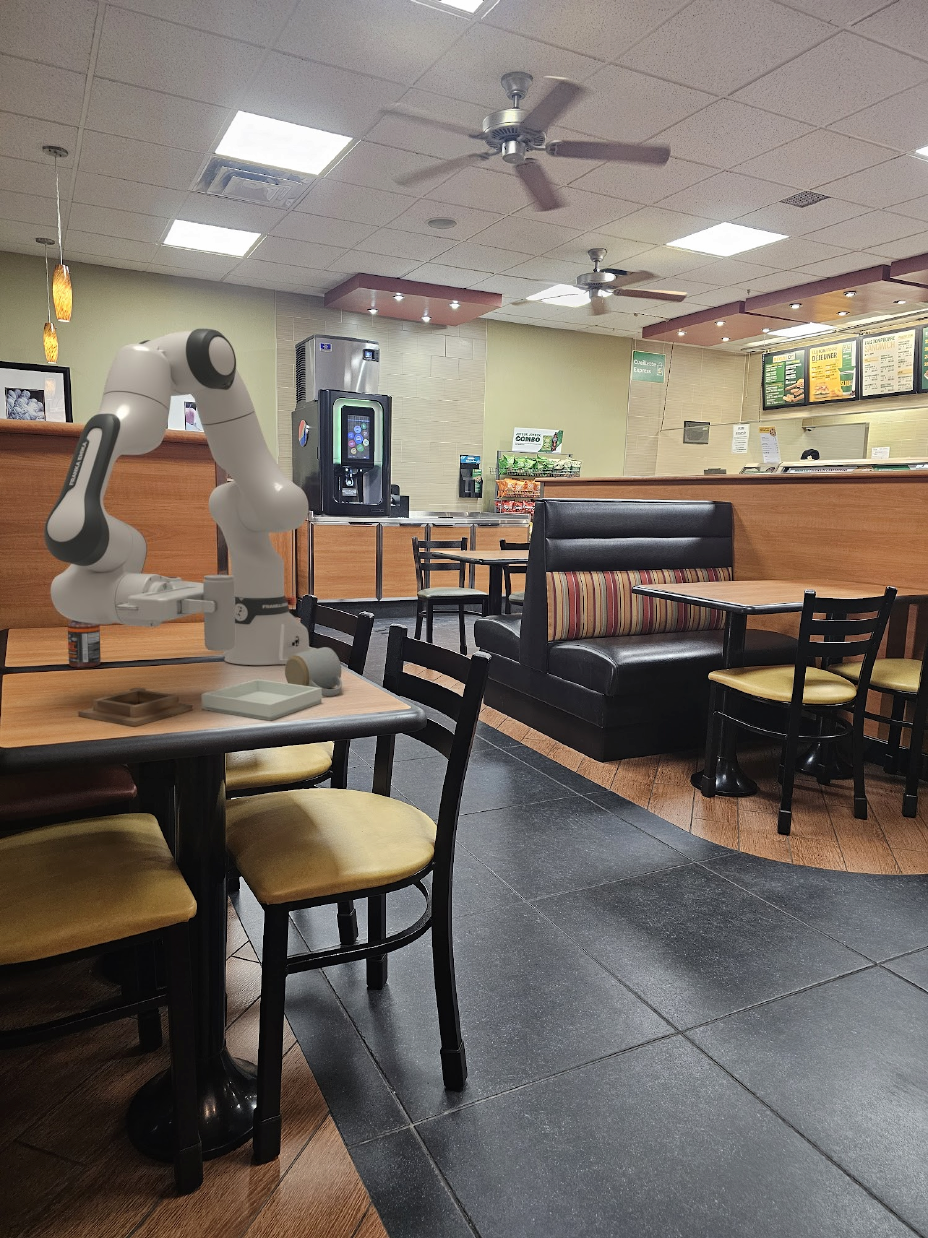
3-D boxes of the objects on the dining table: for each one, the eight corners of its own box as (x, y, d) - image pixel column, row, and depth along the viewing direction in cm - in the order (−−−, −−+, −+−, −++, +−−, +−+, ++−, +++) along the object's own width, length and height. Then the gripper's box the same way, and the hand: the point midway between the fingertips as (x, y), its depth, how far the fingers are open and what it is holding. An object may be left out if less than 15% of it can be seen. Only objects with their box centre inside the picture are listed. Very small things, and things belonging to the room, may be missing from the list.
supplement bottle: (62, 665, 161) (60, 610, 160) (90, 661, 166) (88, 608, 165) (78, 669, 158) (76, 613, 156) (106, 665, 163) (105, 611, 161)
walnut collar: (138, 700, 134) (138, 686, 134) (192, 709, 130) (192, 695, 129) (78, 716, 124) (77, 700, 123) (134, 726, 119) (134, 710, 118)
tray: (257, 693, 143) (257, 679, 142) (321, 702, 137) (321, 688, 137) (201, 709, 130) (201, 694, 130) (270, 721, 124) (270, 704, 124)
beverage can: (225, 652, 127) (224, 578, 125) (198, 650, 128) (197, 576, 126) (240, 647, 132) (239, 575, 130) (214, 645, 133) (213, 574, 131)
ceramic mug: (281, 689, 146) (282, 649, 145) (316, 683, 152) (317, 644, 151) (317, 701, 139) (318, 658, 138) (353, 693, 145) (354, 653, 144)
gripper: (107, 587, 121) (191, 591, 118) (178, 576, 141) (251, 579, 138) (109, 628, 122) (192, 633, 119) (179, 611, 141) (251, 615, 139)
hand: (224, 604), depth 129 cm, fingers closed on beverage can, 5 cm apart
